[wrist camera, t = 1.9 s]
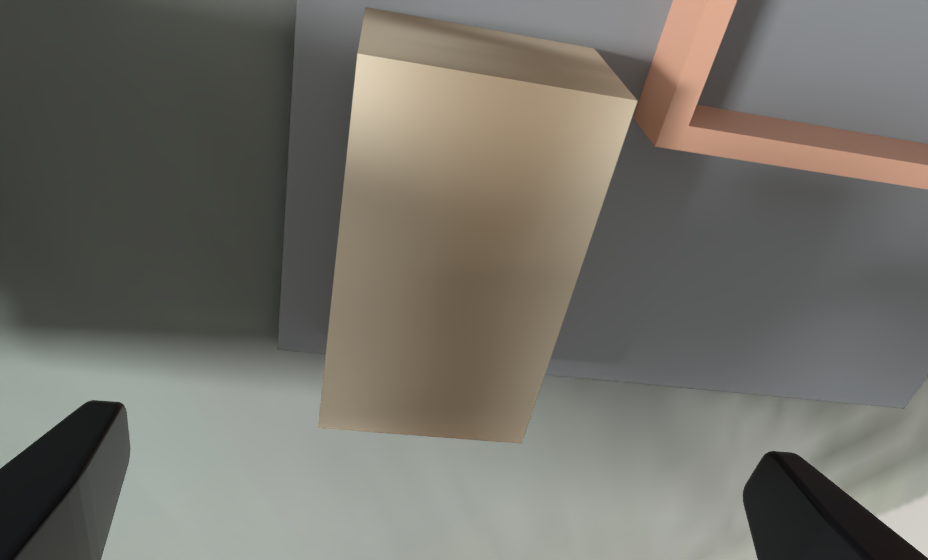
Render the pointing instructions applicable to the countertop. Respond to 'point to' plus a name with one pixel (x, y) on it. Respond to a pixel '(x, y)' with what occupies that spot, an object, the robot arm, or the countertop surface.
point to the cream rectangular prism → (462, 223)
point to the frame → (748, 135)
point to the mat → (686, 201)
